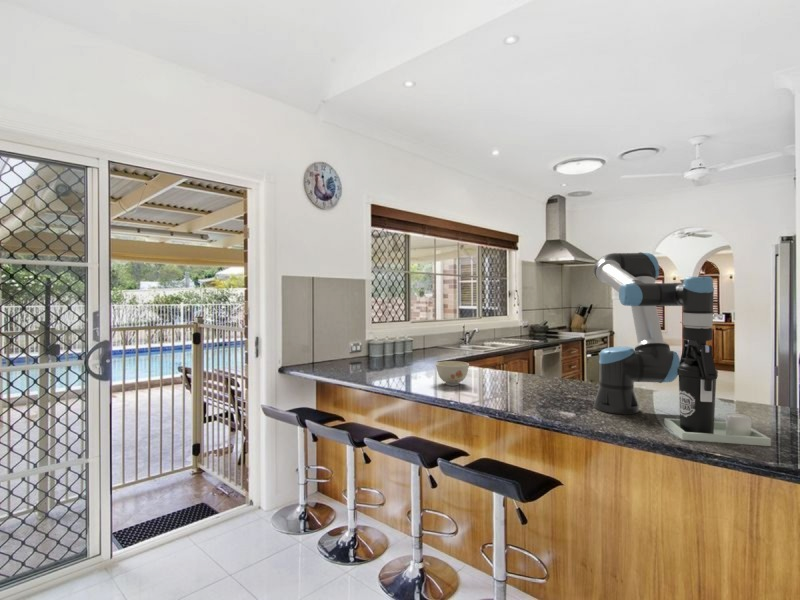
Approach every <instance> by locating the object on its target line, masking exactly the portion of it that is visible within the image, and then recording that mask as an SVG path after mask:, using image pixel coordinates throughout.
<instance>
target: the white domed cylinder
mask: <svg viewBox="0 0 800 600" xmlns="http://www.w3.org/2000/svg"><path fill="white" fill-rule="evenodd" d="M725 422H726V435H738V436H751V428H752V417H751V416H749V415H746V414H741V413H726V414H725Z"/></svg>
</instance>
